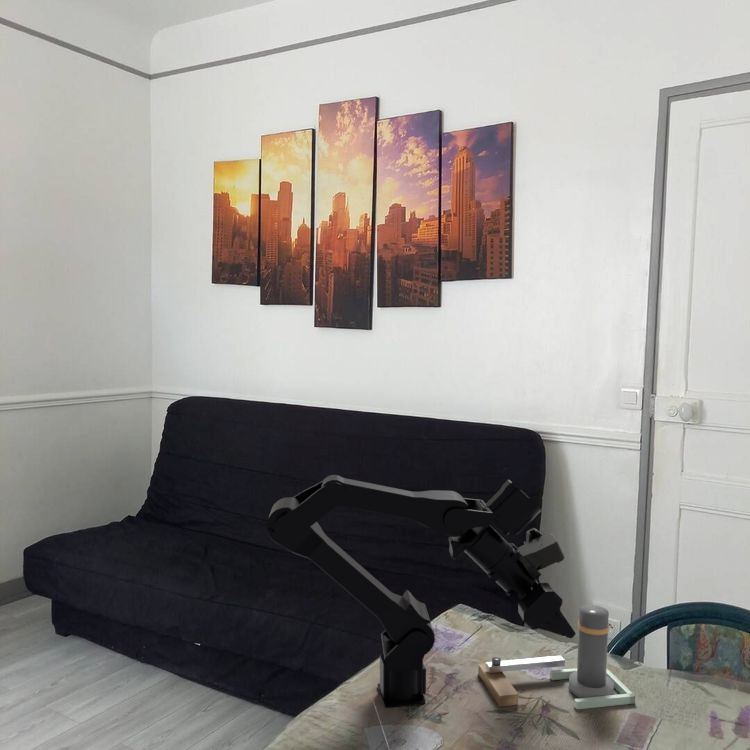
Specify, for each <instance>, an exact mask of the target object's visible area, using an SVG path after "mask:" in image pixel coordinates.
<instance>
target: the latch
mask: <svg viewBox="0 0 750 750" xmlns="http://www.w3.org/2000/svg"><path fill="white" fill-rule="evenodd" d="M485 664H486V669H487V671H488V672H489V673H494V672H503V673H504V672H512V671H513V672H514V671H525V670H536V669H543V668H544V669H545V668H547V669H548V668H556V667H557V668H558V667H565V665H566V659H565V658H564V657H563V656H562V655H551V656H540V657H539V656H538V657H530V658H529V657H527V658H520V659H519V658H517V659H507V660H502V659H501V658H500V657H498V656H493V657H492V658H491V661H485Z"/></svg>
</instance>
